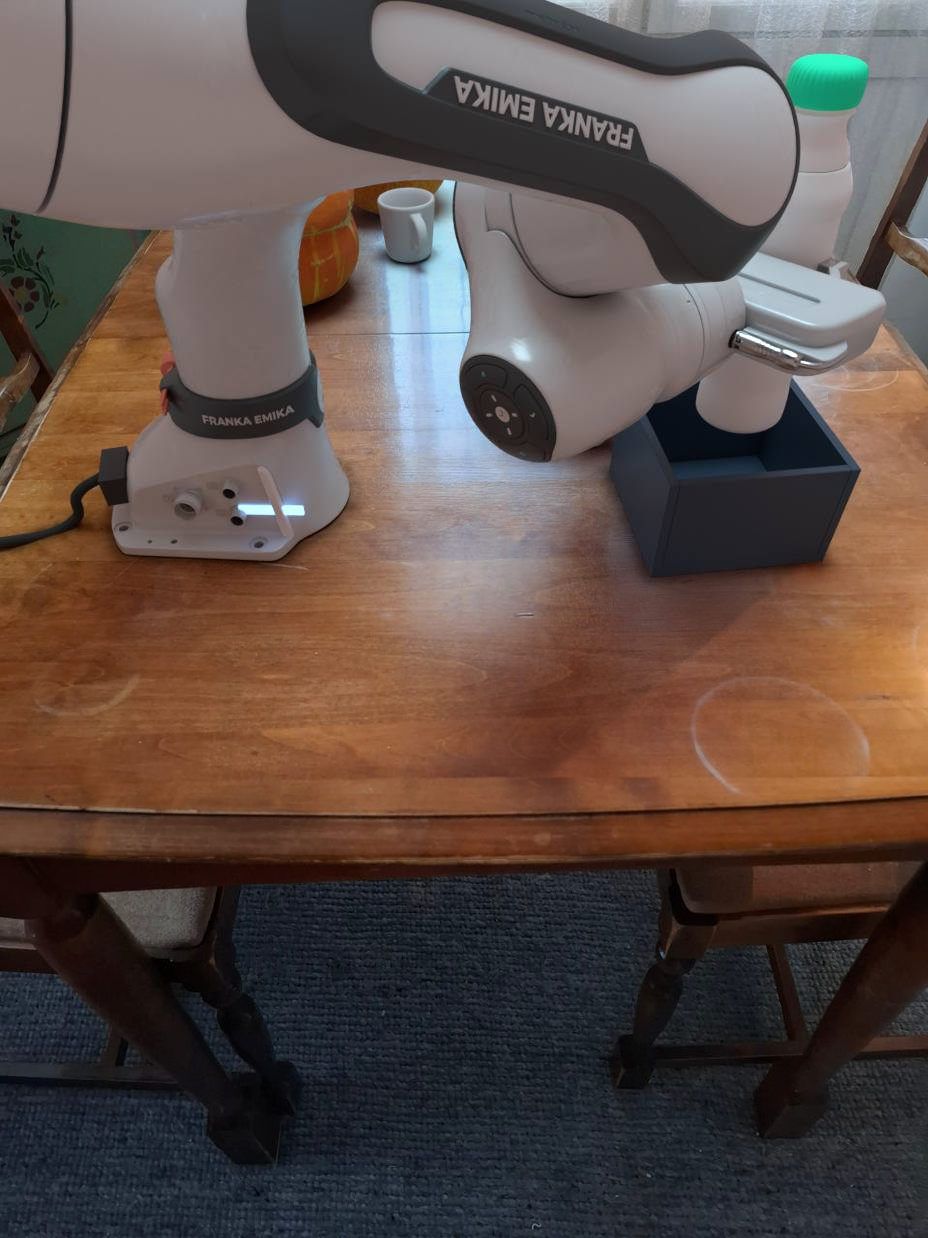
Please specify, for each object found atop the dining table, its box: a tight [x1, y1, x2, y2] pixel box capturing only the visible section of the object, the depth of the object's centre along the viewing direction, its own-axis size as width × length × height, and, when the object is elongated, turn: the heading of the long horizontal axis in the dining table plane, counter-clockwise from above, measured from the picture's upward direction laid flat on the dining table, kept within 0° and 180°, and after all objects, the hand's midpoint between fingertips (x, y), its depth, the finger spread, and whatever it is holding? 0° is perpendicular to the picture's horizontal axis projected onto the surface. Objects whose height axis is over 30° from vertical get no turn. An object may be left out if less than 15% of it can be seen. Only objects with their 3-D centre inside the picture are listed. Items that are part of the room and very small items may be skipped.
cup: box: [377, 188, 436, 263], centre depth 112 cm, size 11×8×8 cm
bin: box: [608, 377, 862, 578], centre depth 72 cm, size 16×16×10 cm
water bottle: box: [696, 53, 870, 434], centre depth 58 cm, size 7×7×25 cm
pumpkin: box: [298, 189, 360, 307], centre depth 101 cm, size 23×23×20 cm
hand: (784, 254), depth 58 cm, fingers closed on water bottle, 7 cm apart
